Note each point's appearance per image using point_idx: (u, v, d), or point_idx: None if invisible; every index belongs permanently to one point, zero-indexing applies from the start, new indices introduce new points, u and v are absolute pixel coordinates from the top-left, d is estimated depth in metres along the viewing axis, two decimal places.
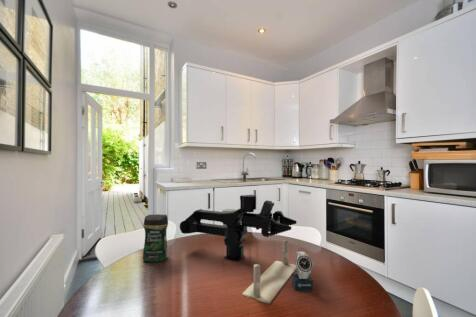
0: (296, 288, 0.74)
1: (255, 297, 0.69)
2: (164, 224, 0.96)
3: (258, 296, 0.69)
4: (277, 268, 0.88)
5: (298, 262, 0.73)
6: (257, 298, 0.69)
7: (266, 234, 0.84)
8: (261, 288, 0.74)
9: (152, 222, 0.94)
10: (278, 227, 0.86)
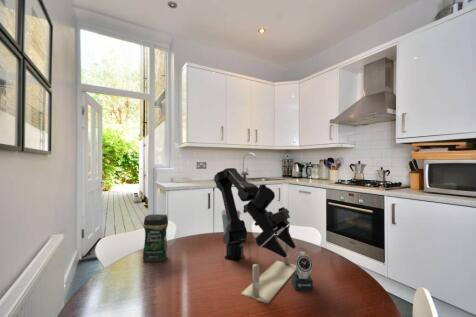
0: (296, 288, 0.74)
1: (254, 297, 0.69)
2: (164, 224, 0.96)
3: (257, 296, 0.69)
4: (278, 268, 0.88)
5: (298, 262, 0.73)
6: (256, 298, 0.69)
7: (259, 244, 0.74)
8: (260, 288, 0.74)
9: (152, 222, 0.94)
10: (275, 246, 0.75)
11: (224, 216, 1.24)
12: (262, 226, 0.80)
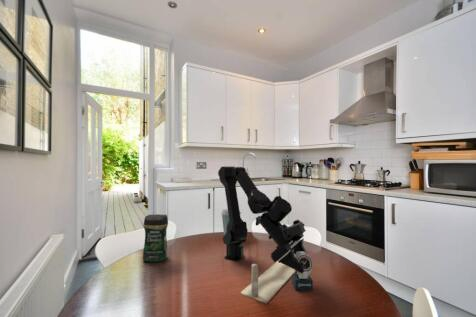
0: (296, 288, 0.74)
1: (253, 296, 0.69)
2: (164, 224, 0.96)
3: (256, 295, 0.69)
4: (278, 268, 0.88)
5: None
6: (255, 297, 0.69)
7: (275, 260, 0.71)
8: (260, 288, 0.74)
9: (152, 222, 0.94)
10: (291, 261, 0.72)
11: (224, 216, 1.24)
12: (277, 240, 0.78)
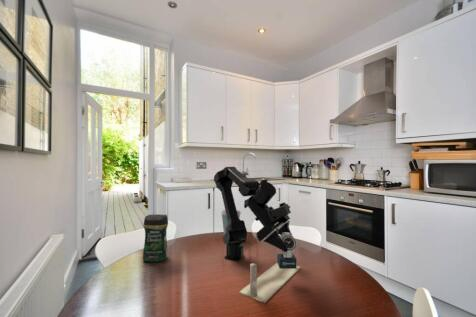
0: (280, 266, 0.77)
1: (251, 296, 0.70)
2: (164, 224, 0.96)
3: (254, 295, 0.69)
4: (279, 268, 0.88)
5: (283, 241, 0.76)
6: (253, 297, 0.69)
7: (260, 239, 0.74)
8: (259, 287, 0.74)
9: (152, 222, 0.94)
10: (276, 240, 0.75)
11: (224, 216, 1.24)
12: (263, 221, 0.80)
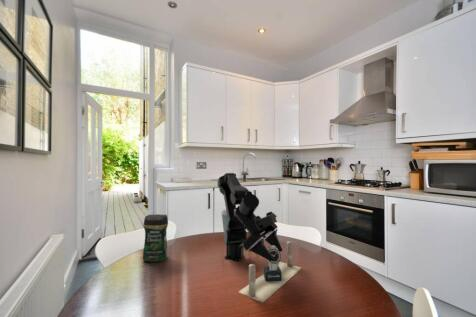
0: (266, 279, 0.79)
1: (250, 296, 0.70)
2: (164, 224, 0.96)
3: (253, 295, 0.70)
4: None
5: None
6: (252, 297, 0.70)
7: (246, 248, 0.76)
8: (258, 288, 0.75)
9: (152, 222, 0.94)
10: (261, 250, 0.77)
11: (224, 216, 1.24)
12: (250, 230, 0.83)
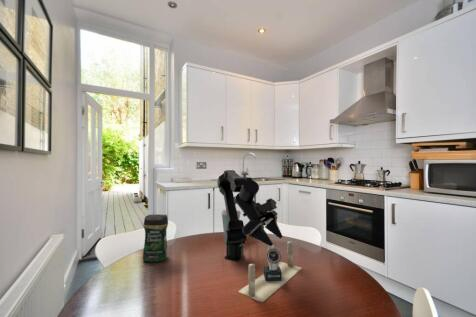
0: (266, 279, 0.79)
1: (250, 296, 0.70)
2: (164, 224, 0.96)
3: (252, 295, 0.70)
4: None
5: (268, 255, 0.79)
6: (251, 297, 0.70)
7: (246, 233, 0.76)
8: (258, 288, 0.75)
9: (152, 222, 0.94)
10: (261, 235, 0.77)
11: (224, 216, 1.24)
12: (250, 216, 0.83)
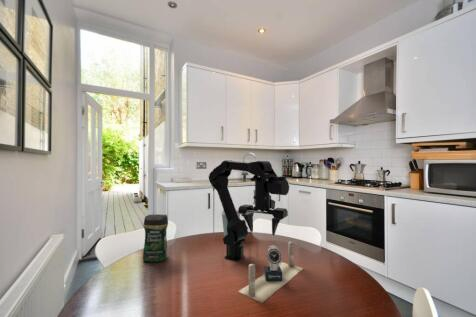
0: (267, 279, 0.79)
1: (250, 296, 0.70)
2: (164, 224, 0.96)
3: (252, 295, 0.70)
4: (281, 269, 0.88)
5: (268, 255, 0.79)
6: (251, 297, 0.70)
7: (283, 216, 0.84)
8: (258, 288, 0.75)
9: (152, 222, 0.94)
10: (276, 223, 0.88)
11: (224, 216, 1.24)
12: (268, 203, 0.89)
